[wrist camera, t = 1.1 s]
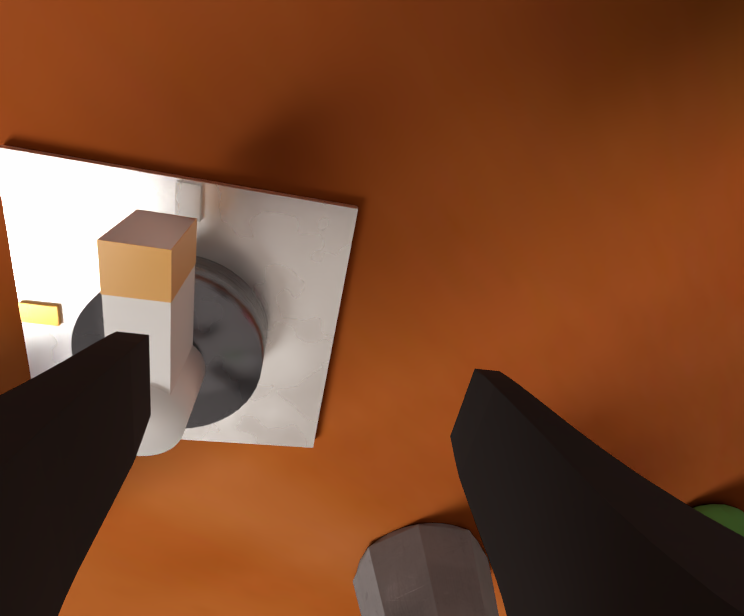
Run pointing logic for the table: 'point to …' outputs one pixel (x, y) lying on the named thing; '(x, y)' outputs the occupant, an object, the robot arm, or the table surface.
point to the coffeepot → (425, 574)
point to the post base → (211, 290)
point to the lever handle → (156, 312)
